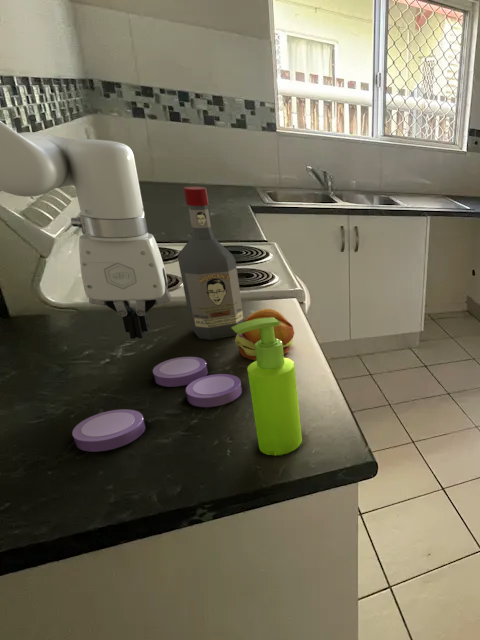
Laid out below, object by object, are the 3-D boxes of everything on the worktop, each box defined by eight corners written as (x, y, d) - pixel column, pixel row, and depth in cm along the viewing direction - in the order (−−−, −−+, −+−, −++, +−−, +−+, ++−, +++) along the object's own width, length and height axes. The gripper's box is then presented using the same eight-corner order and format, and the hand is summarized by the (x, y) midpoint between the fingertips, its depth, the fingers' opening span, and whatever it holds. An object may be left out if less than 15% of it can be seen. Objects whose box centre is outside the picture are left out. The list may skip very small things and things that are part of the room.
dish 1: (66, 456, 64) (62, 445, 63) (86, 423, 71) (83, 413, 70) (138, 446, 67) (135, 435, 67) (151, 415, 74) (148, 405, 73)
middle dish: (183, 410, 76) (181, 400, 75) (191, 385, 83) (189, 376, 82) (240, 403, 79) (238, 393, 78) (243, 380, 86) (242, 371, 85)
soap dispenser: (245, 443, 70) (225, 318, 62) (292, 427, 75) (279, 309, 66) (260, 464, 66) (240, 334, 58) (308, 445, 71) (297, 323, 63)
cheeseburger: (271, 335, 103) (274, 296, 98) (304, 360, 99) (308, 321, 94) (225, 350, 95) (226, 308, 90) (259, 378, 91) (261, 335, 86)
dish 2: (149, 389, 80) (147, 379, 80) (160, 367, 87) (158, 358, 86) (204, 384, 83) (202, 374, 83) (210, 363, 90) (209, 354, 89)
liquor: (190, 327, 103) (162, 184, 91) (236, 319, 109) (215, 184, 97) (199, 342, 97) (171, 192, 85) (248, 333, 103) (227, 191, 91)
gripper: (42, 230, 67) (74, 347, 74) (169, 233, 73) (187, 342, 80) (63, 219, 73) (90, 328, 80) (178, 223, 79) (194, 324, 86)
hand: (138, 335), depth 80 cm, fingers closed
